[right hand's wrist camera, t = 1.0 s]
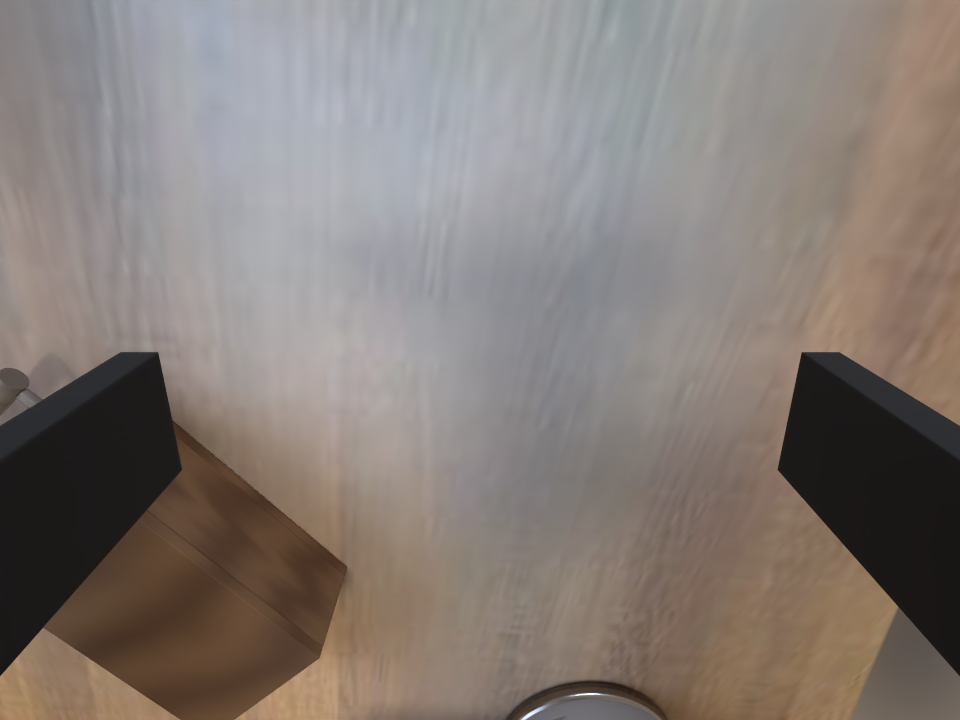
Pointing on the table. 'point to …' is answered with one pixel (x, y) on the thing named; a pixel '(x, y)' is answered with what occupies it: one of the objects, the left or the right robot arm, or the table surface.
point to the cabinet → (205, 596)
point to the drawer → (15, 389)
